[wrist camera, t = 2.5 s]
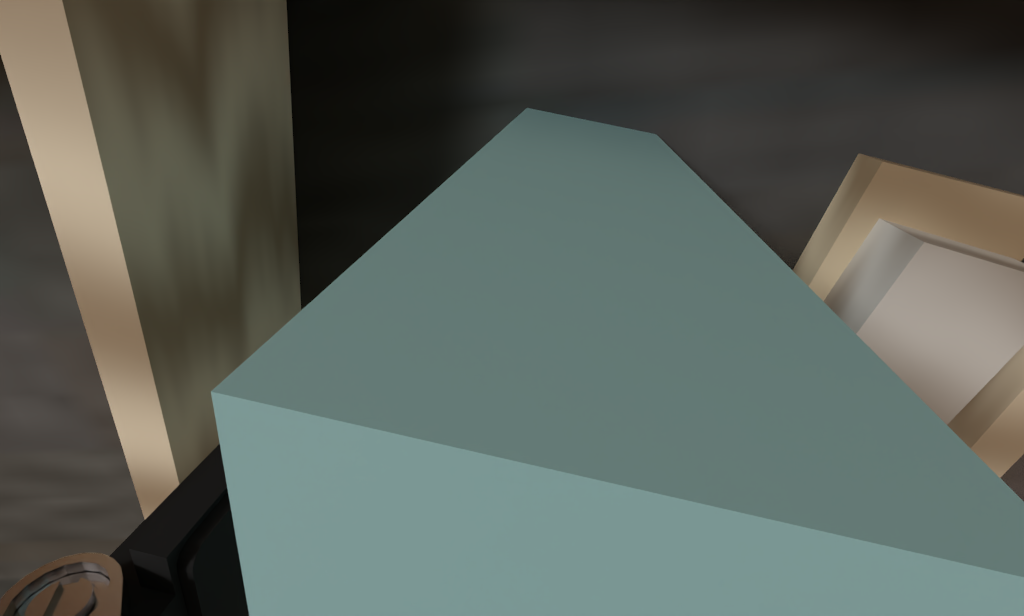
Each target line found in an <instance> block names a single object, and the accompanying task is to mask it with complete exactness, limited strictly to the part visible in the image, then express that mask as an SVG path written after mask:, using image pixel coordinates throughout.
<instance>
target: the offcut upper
mask: <svg viewBox="0 0 1024 616" xmlns="http://www.w3.org/2000/svg"><path fill="white" fill-rule="evenodd" d="M823 302H824V303H825V304H826V305H827V306H828V307H829V308H830V309H831V310H832V311H833V312H834V313H835V314H836V315H837V316H838V317H839V318H840V319H841V320H842V321H843V322H844V323H845V324H846V325H847V326H848V327H849V328H850V329H851V330H852V331H853V332H854V333H855V334H856V335H857V336H858V337H859V338H860V339H861V340H862V341H863V342H864V343H865V344H866V345H867V346H868V347H869V348H870V349H871V350H872V351H873V352H874V353H875V354H876V355H877V356H878V357H879V358H880V359H881V360H882V361H883V362H884V363H885V364H886V365H887V366H888V367H889V368H890V369H891V370H892V371H893V372H894V373H895V374H896V375H897V376H898V377H899V378H900V379H901V380H902V381H903V382H904V383H905V384H906V385H907V386H908V387H909V388H910V389H911V390H912V391H913V392H914V393H915V394H916V395H917V396H918V397H919V398H920V399H921V400H922V401H923V402H924V403H925V404H926V405H927V406H928V407H929V408H930V409H931V410H932V411H933V412H934V413H935V414H936V415H937V416H938V417H939V418H940V419H941V420H942V421H943V422H944V423H945V424H946V425H948V423H949V422H950V421H951V420H952V419H953V418H954V417H955V416H956V415H957V414H958V413H959V412H960V411H961V410H962V409H963V408H964V407H965V406H966V405H967V404H968V403H969V402H970V401H971V400H972V399H973V398H974V396H975V395H976V394H977V393H978V392H979V391H980V390H981V389H982V388H983V387H984V386H985V385H986V384H987V383H988V382H989V381H990V380H991V379H992V378H993V377H994V376H995V375H996V374H997V373H998V372H999V371H1000V369H1001V368H1002V367H1003V366H1004V365H1005V364H1006V363H1007V362H1008V361H1009V360H1010V359H1011V358H1012V357H1013V356H1014V355H1015V354H1016V353H1017V352H1018V351H1019V350H1020V349H1021V348H1022V347H1023V346H1024V263H1022V262H1020V261H1018V260H1016V259H1013V258H1010V257H1007V256H1004V255H1000V254H997V253H994V252H990V251H987V250H983V249H980V248H977V247H973V246H970V245H967V244H963V243H960V242H957V241H953V240H950V239H947V238H943V237H940V236H937V235H933V234H930V233H927V232H923V231H920V230H917V229H913V228H910V227H907V226H903V225H900V224H897V223H893V222H890V221H887V220H883V219H880V218H879V219H878V221H877V222H876V224H875V225H874V227H873V228H872V230H871V231H870V233H869V234H868V236H867V237H866V239H865V240H864V242H863V243H862V245H861V246H860V248H859V249H858V251H857V252H856V254H855V255H854V257H853V258H852V260H851V261H850V263H849V264H848V266H847V267H846V269H845V270H844V272H843V273H842V274H841V276H840V277H839V279H838V280H837V282H836V283H835V285H834V286H833V288H832V289H831V291H830V292H829V294H828V295H827V297H826V298H825V300H824V301H823Z"/></svg>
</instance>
